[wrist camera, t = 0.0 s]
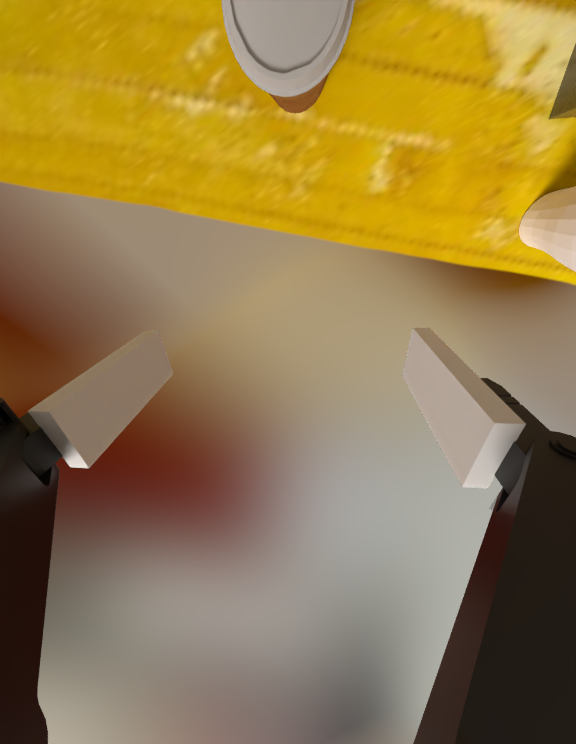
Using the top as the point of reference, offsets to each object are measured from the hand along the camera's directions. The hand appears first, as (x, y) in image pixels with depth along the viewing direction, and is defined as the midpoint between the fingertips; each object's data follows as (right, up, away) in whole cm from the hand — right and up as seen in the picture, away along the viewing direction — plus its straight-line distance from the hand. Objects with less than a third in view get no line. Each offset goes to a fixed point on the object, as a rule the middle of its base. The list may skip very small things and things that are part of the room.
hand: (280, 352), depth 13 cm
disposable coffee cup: (+1, +31, +14) cm, 34 cm away
